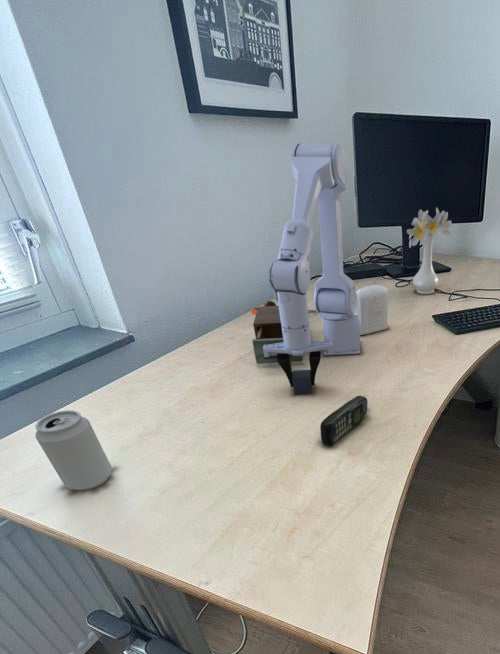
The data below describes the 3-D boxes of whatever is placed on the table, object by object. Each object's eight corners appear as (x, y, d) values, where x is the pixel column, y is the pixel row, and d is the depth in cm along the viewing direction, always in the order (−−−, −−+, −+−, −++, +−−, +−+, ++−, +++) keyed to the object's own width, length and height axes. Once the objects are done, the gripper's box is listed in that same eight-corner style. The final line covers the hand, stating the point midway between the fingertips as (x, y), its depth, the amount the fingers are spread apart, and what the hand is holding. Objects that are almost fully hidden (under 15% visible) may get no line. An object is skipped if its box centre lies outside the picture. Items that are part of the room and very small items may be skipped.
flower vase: (400, 298, 148) (403, 214, 133) (414, 283, 162) (418, 205, 146) (438, 302, 145) (445, 215, 129) (449, 286, 158) (457, 206, 142)
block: (312, 385, 100) (310, 369, 97) (312, 393, 97) (310, 377, 94) (294, 386, 100) (292, 370, 97) (294, 394, 97) (292, 378, 94)
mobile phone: (329, 427, 77) (373, 391, 87) (315, 422, 79) (360, 387, 88) (331, 449, 81) (373, 412, 90) (318, 444, 82) (361, 408, 91)
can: (77, 467, 77) (44, 408, 70) (120, 464, 78) (92, 405, 70) (57, 495, 71) (19, 434, 64) (104, 492, 72) (71, 431, 64)
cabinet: (305, 350, 116) (302, 321, 111) (258, 352, 115) (253, 323, 110) (306, 331, 126) (303, 304, 121) (262, 333, 125) (258, 306, 121)
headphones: (319, 302, 138) (286, 306, 121) (319, 319, 140) (287, 326, 124) (274, 297, 143) (236, 300, 126) (274, 314, 146) (238, 319, 129)
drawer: (302, 368, 105) (299, 345, 101) (254, 371, 104) (250, 348, 100) (303, 342, 118) (301, 320, 114) (261, 344, 117) (257, 322, 113)
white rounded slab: (381, 325, 129) (381, 281, 121) (389, 329, 126) (390, 284, 119) (352, 332, 125) (350, 287, 117) (360, 337, 122) (358, 291, 114)
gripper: (257, 333, 85) (268, 394, 94) (331, 329, 86) (335, 390, 95) (260, 320, 91) (271, 380, 99) (330, 317, 92) (334, 376, 100)
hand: (302, 384), depth 97 cm, fingers closed on block, 4 cm apart
